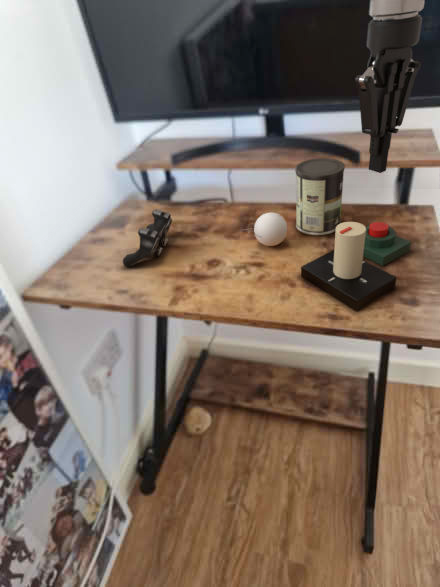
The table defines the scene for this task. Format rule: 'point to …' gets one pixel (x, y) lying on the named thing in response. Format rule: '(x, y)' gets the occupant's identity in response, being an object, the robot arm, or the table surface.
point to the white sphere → (270, 229)
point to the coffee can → (319, 195)
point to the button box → (385, 247)
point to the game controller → (150, 238)
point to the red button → (378, 229)
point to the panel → (348, 282)
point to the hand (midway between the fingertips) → (377, 169)
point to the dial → (349, 249)
